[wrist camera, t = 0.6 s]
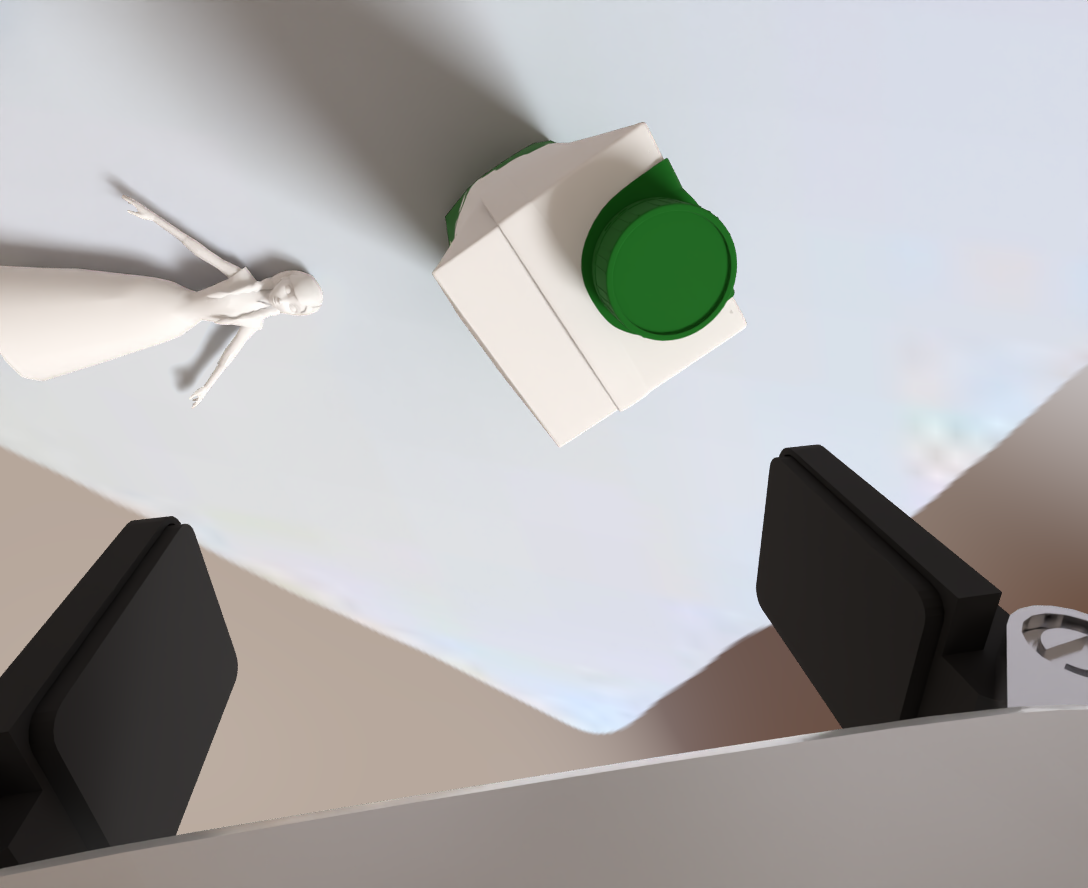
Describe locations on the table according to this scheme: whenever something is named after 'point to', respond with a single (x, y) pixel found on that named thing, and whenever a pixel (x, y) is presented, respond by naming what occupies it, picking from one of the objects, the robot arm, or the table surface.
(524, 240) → the milk carton
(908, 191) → the table surface
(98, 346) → the woman figurine
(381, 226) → the table surface
